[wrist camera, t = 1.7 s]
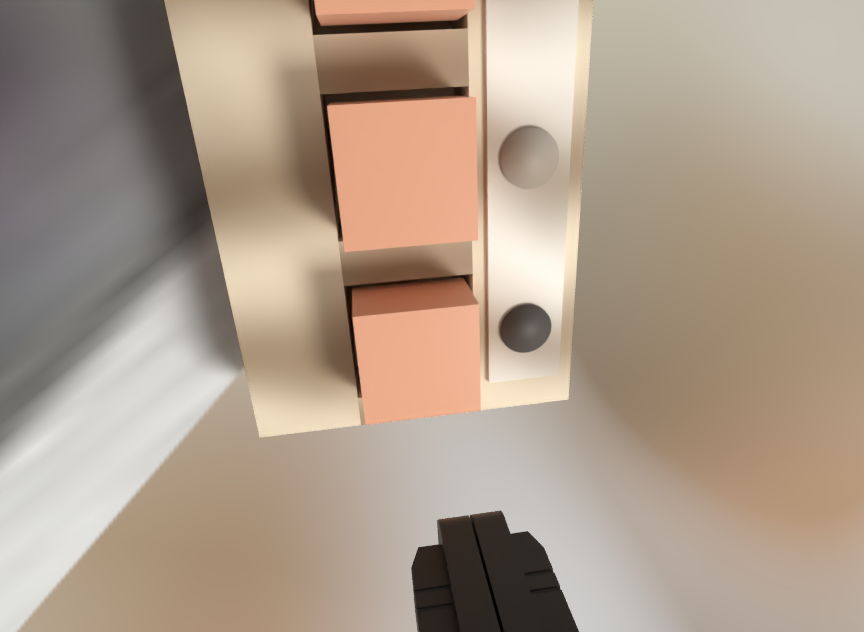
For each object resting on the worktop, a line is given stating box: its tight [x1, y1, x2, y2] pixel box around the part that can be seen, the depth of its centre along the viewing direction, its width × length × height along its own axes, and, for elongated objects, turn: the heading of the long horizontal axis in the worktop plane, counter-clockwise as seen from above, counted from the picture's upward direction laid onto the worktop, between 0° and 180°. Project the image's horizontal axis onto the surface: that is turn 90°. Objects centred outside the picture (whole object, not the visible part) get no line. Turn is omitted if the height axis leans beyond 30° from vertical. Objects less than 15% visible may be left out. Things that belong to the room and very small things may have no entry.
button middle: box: [327, 96, 478, 252], centre depth 19 cm, size 5×5×3 cm
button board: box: [164, 0, 593, 437], centre depth 21 cm, size 22×14×4 cm, turn 3°
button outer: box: [352, 278, 481, 425], centre depth 21 cm, size 5×5×3 cm
